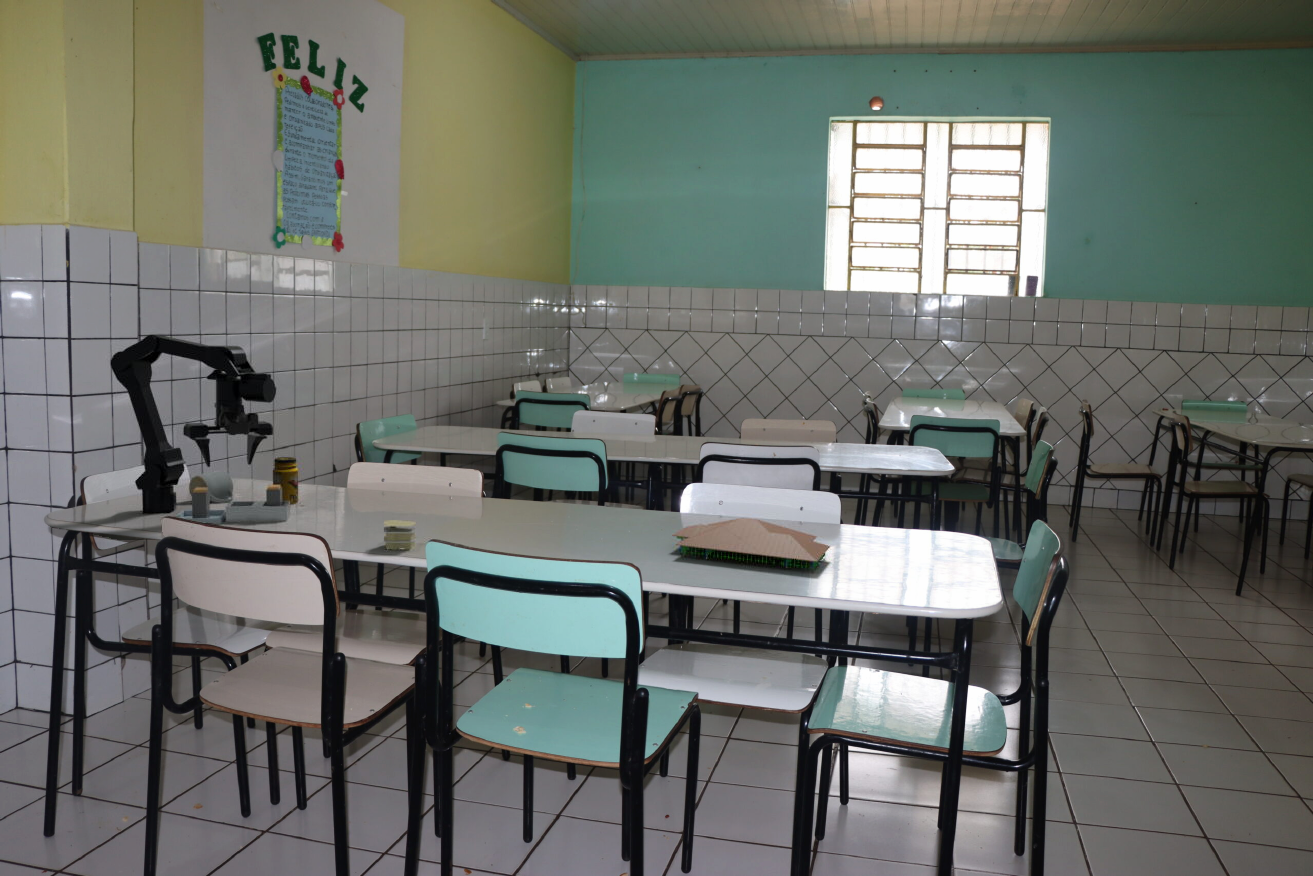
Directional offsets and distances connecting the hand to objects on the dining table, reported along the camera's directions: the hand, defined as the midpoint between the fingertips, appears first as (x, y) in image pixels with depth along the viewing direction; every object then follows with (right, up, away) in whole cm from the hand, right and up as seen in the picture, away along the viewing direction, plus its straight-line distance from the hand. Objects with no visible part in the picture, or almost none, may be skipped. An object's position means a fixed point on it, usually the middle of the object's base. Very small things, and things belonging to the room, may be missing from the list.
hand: (229, 465), depth 232 cm
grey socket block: (+7, -13, -1) cm, 15 cm away
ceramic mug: (-12, -10, +20) cm, 25 cm away
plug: (-5, -12, -4) cm, 14 cm away
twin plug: (+11, -13, 0) cm, 17 cm away
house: (+122, -19, -17) cm, 124 cm away
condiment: (+6, -11, +18) cm, 22 cm away
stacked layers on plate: (+46, -17, -21) cm, 53 cm away
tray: (-5, -13, -4) cm, 14 cm away
